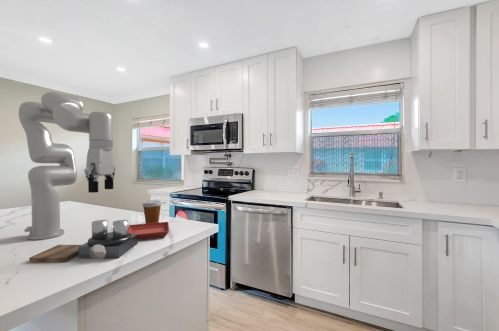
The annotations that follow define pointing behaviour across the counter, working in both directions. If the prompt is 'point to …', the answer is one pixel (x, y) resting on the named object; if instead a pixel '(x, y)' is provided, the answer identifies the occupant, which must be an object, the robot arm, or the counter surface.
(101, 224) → the cylinder
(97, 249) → the scale
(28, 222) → the counter surface
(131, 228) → the plant saucer
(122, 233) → the cylinder
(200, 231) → the counter surface
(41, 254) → the walnut board
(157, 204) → the disposable coffee cup
